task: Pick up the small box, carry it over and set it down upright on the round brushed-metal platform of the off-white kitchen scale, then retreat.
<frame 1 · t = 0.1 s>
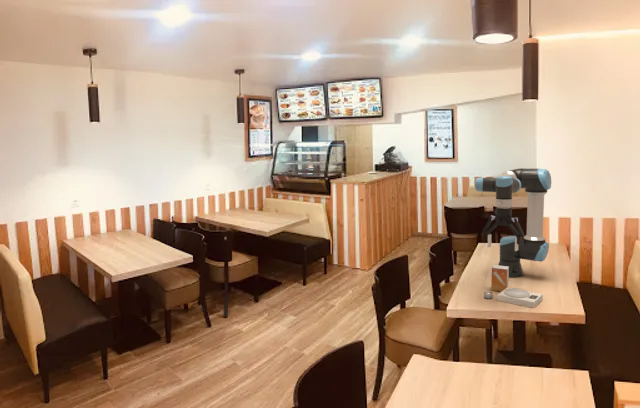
hand: (502, 248, 230), 28 cm above the table, fingers open, 13 cm apart
scale: (519, 300, 235), on the table
spacer: (488, 298, 240), on the table
small box: (499, 290, 251), on the table
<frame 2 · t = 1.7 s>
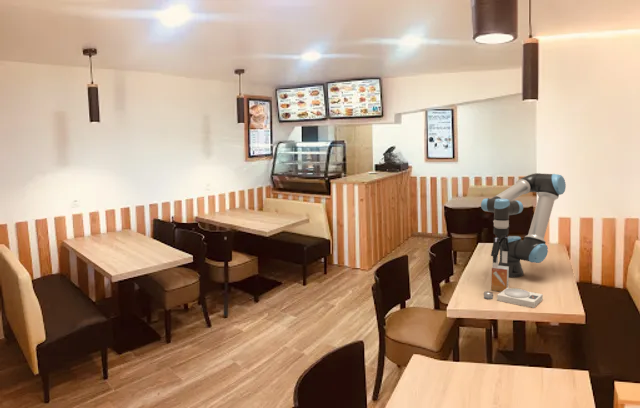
hand: (499, 265, 249), 14 cm above the table, fingers open, 13 cm apart
nothing on the table moved.
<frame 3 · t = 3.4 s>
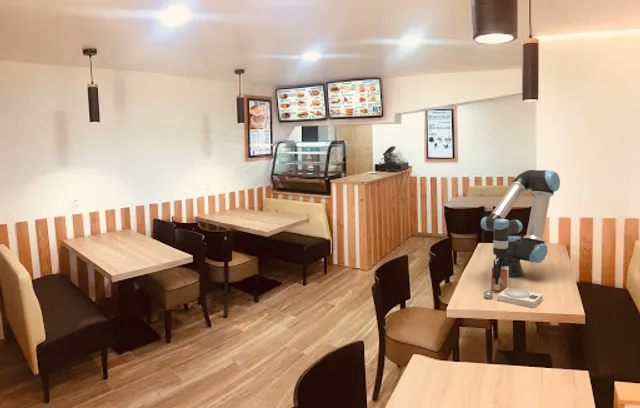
hand: (499, 287, 251), 1 cm above the table, fingers closed on small box, 7 cm apart
small box: (499, 290, 251), on the table, touching gripper
everything else where it was.
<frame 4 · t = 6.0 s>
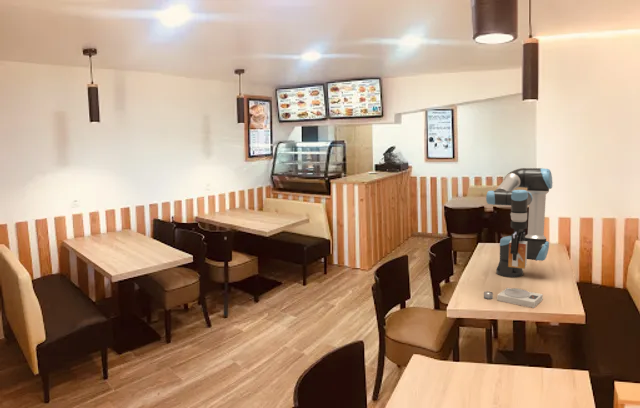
hand: (517, 264, 233), 19 cm above the table, fingers closed on small box, 7 cm apart
small box: (517, 266, 233), point 18 cm above the table, touching gripper
everything else where it was.
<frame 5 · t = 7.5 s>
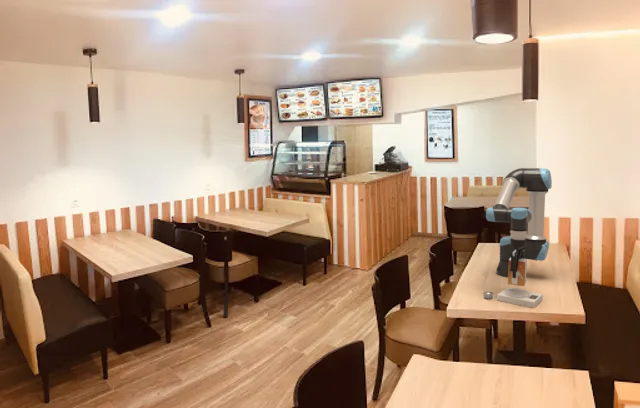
hand: (517, 281, 234), 10 cm above the table, fingers closed on small box, 7 cm apart
small box: (516, 284, 235), point 8 cm above the table, touching gripper
everything else where it was.
when the fingers open (7 cm above the table, at t = 8.5 s): small box drops 1 cm, resting on scale.
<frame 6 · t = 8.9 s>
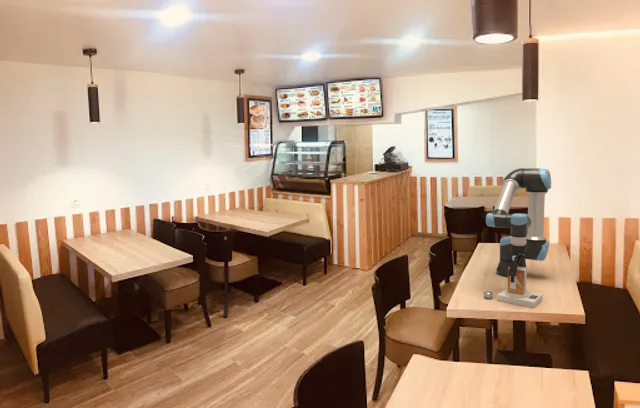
hand: (517, 285, 235), 8 cm above the table, fingers open, 12 cm apart
small box: (516, 292, 235), point 4 cm above the table, touching scale
everything else where it was.
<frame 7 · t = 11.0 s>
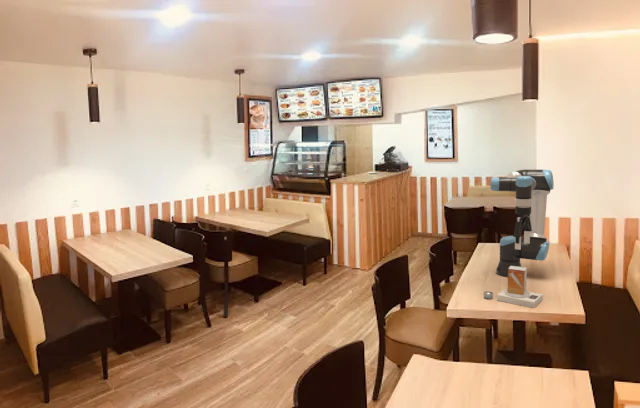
hand: (522, 246, 238), 27 cm above the table, fingers open, 13 cm apart
nothing on the table moved.
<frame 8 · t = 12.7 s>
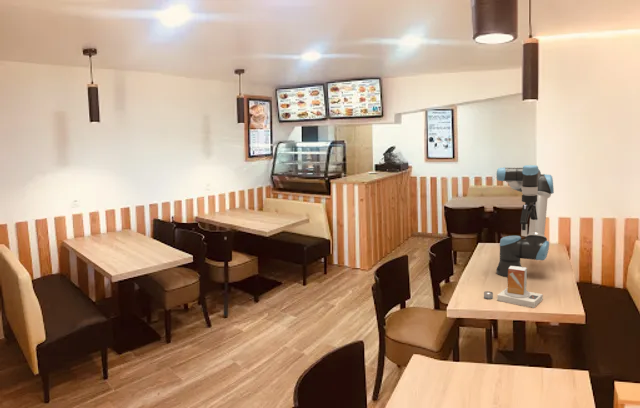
hand: (528, 233, 244), 32 cm above the table, fingers open, 13 cm apart
nothing on the table moved.
at the end: small box inside the target area on the scale (0.2 cm from its centre), point 3.8 cm above the scale's base; small box tilted 0°; the gripper is holding nothing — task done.
